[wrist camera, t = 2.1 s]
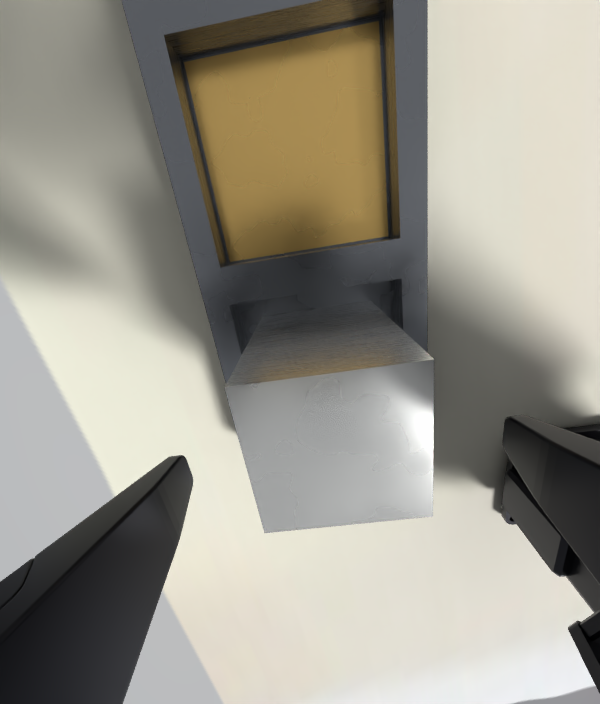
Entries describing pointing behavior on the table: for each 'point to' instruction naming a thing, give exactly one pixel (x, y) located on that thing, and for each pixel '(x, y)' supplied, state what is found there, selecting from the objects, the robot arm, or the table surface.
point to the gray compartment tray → (293, 153)
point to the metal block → (335, 418)
